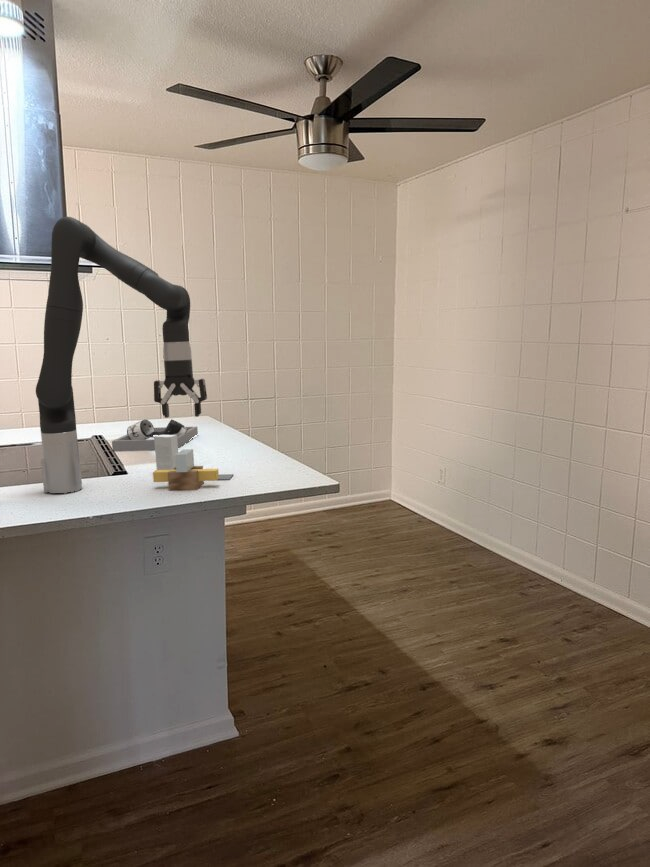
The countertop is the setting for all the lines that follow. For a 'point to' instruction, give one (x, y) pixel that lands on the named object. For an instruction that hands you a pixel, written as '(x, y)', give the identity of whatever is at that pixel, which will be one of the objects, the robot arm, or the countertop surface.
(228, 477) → the mat
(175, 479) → the cradle
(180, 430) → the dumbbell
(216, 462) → the countertop surface
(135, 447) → the bucket corral
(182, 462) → the gray rectangular block
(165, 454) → the skincare box
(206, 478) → the yellow bar
